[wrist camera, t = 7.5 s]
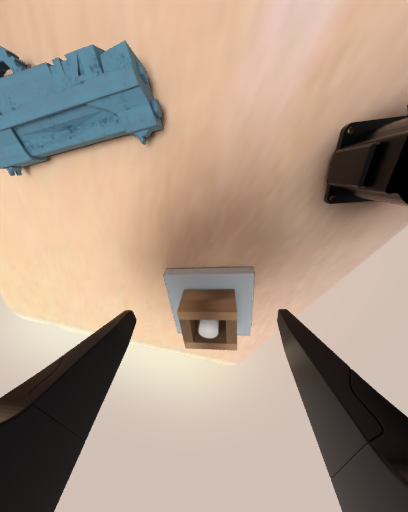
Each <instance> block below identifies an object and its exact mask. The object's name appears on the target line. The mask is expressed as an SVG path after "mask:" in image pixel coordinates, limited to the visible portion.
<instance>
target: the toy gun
mask: <svg viewBox="0 0 408 512" xmlns="http://www.w3.org/2000/svg"><path fill="white" fill-rule="evenodd" d="M65 57H66V58H67V60H66V61H63V60H61V59H60V58H56V59H53V60H52V61H53V64H54V65H51V64H48V63H43V64H40V65H37V66H34V67H31V68H28V69H27V65H26V64H25V63H24V62H23V61H21V60H19V57H18V56H17V55H15V54H14V53H12V52H10V51H8V50H6V49H5V48H3V47H1V46H0V169H7V170H8V172H9V174H10V176H14V175H15V172H16V174H17V175H22V173H21V170H22V167H24V166H28V165H32V164H35V163H39V162H42V161H46V160H47V158H46V156H49V155H53V154H57V153H60V152H64V151H68V150H71V149H75V148H79V147H82V146H86V145H90V144H93V143H97V142H101V141H104V140H108V139H111V138H115V137H119V136H122V135H126V134H130V135H133V136H138V138H139V139H140V141H141V142H142V144H144V145H145V144H146V140H145V138H146V137H149V136H150V134H151V133H152V132H153V131H157V130H160V129H163V126H162V122H161V119H160V118H161V116H162V110H161V106H160V104H159V102H158V100H157V99H154V97H153V94H152V91H151V88H150V85H149V82H148V81H149V79H148V76H147V74H146V71H145V69H144V67H143V65H142V64H141V62H140V61H139V60H138V58H137V57H136V56H135V54H134V53H133V51H132V50H131V48H130V47H129V45H128V44H127V43H126V41H123V42H121V43H120V44H118V45H116V46H114V47H112V48H111V49H109V50H107V51H104V50H102V49H100V48H98V47H96V46H94V45H90V46H87V47H84V48H81V49H78V50H76V51H73V52H71V53H68V54H66V55H65ZM9 69H11V70H12V71H13V73H14V74H11V75H8V76H5V77H4V74H5V73H6V71H7V70H9ZM14 171H15V172H14Z"/></svg>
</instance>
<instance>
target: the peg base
mask: <svg viewBox="0 0 408 512" xmlns="http://www.w3.org/2000/svg"><path fill="white" fill-rule="evenodd" d="M163 276H164V280H165V284H166V288H167V292H168V296H169V300H170V304H171V308H172V312H173V316H174V320H175V324H176V328H177V332H178V333H182V331H181V327H180V323H179V319H178V315H177V310H178V307H179V304H180V300H181V297H182V294H183V291H184V290H208V289H235V299H236V308H237V335H242V336H250V332H251V318H252V304H253V290H254V276H255V273H254V270H253V267H232V268H187V269H166V271H165V273H164V274H163ZM218 326H219V320H200V324H199V334H200V335H201V336H202V337H205V338H214V337H216V336H217V335H218Z"/></svg>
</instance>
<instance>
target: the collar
mask: <svg viewBox="0 0 408 512" xmlns="http://www.w3.org/2000/svg"><path fill="white" fill-rule="evenodd" d="M177 315H178V319H179V323H180V327H181V331H182V335H183V339H184V344H185V348H191V349H216V350H237V308H236V299H235V289H208V290H184V291H183V294H182V297H181V300H180V304H179V307H178V310H177ZM200 320H219V326H218V335H217V336H216V337H214V338H205V337H202V336H201V335H200V334H199V324H200Z"/></svg>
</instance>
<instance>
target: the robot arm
mask: <svg viewBox="0 0 408 512" xmlns="http://www.w3.org/2000/svg"><path fill="white" fill-rule="evenodd" d="M407 106H408V105H407ZM349 128H351V132H350V133H349V134H348V129H349ZM327 182H328V187H327V191H326V195H325V202H326V203H329V204H335V203H349V202H364V201H381V202H386V203H392V204H398V205H404V206H408V116H401V117H393V118H385V119H378V120H370V121H362V122H354V123H350V124H348V125H346V126H345V127H344V128H343V129H342V132H341V135H340V139H339V143H338V147H337V151H336V152H335V154H334V157H333V161H332V165H331V169H330V173H329V177H328V181H327ZM331 196H333V198H332V200H330V197H331ZM277 322H278V327H279V331H280V334H281V338H282V343H283V346H284V350H285V354H286V356H287V359H288V362H289V365H290V368H291V371H292V373H293V376H294V379H295V382H296V384H297V387H298V390H299V393H300V395H301V398H302V401H303V404H304V407H305V409H306V412H307V414H308V417H309V420H310V423H311V426H312V428H313V431H314V434H315V437H316V439H317V442H318V445H319V448H320V451H321V453H322V456H323V459H324V462H325V464H326V467H327V470H328V472H329V476H330V478H331V481H332V484H333V486H334V489H335V492H336V495H337V498H338V500H339V503H340V506H341V509H342V512H408V417H407V416H406V415H404V414H403V413H402V412H401V411H399V410H398V409H397V408H396V407H395V406H393V405H392V404H391V403H390V402H389V401H388V400H386V399H385V398H384V397H383V396H382V395H380V394H379V393H378V392H377V391H376V390H375V389H373V388H372V387H371V386H370V385H369V384H368V383H367V382H366V381H364V380H363V379H362V378H361V377H360V376H359V375H358V374H357V373H356V372H354V371H353V370H352V369H350V367H349V366H348V365H347V364H346V363H345V362H344V361H343V360H341V359H340V358H339V357H338V356H337V355H336V354H335V353H334V352H333V351H332V350H331V349H329V348H328V347H327V346H326V345H325V344H324V343H323V342H322V341H321V340H320V339H319V338H317V337H316V336H315V335H314V334H313V333H312V332H311V331H310V330H309V329H308V328H306V326H304V325H303V324H302V323H301V322H300V321H299V320H298V319H297V318H296V317H295V316H294V315H293V314H291V313H290V312H289V311H288V310H287V309H279V311H278V318H277ZM135 324H136V317H135V315H134V313H133V311H132V310H126V311H124V312H123V313H121V314H120V315H118V316H117V317H116V318H114V319H113V320H111V321H110V322H109V323H107V324H106V325H105V326H103V327H102V328H100V329H99V330H98V331H96V332H95V333H93V334H92V335H91V336H89V337H88V338H87V339H85V340H84V341H82V342H81V343H80V344H78V345H77V346H76V347H74V348H73V349H71V350H70V351H68V352H67V353H66V354H65V355H63V356H62V357H60V358H59V359H57V360H56V361H55V362H53V363H52V364H51V365H49V366H47V367H46V368H45V369H43V370H42V371H40V372H39V373H37V374H36V375H35V376H33V377H31V378H30V379H28V380H27V381H25V382H24V383H23V384H21V385H19V386H18V387H16V388H15V389H13V390H12V391H10V392H8V393H7V394H5V395H4V396H3V397H1V398H0V512H54V510H55V508H56V506H57V504H58V502H59V499H60V497H61V495H62V493H63V490H64V488H65V486H66V484H67V481H68V479H69V477H70V475H71V472H72V470H73V468H74V466H75V464H76V461H77V459H78V457H79V455H80V452H81V450H82V448H83V446H84V444H85V440H86V439H87V437H88V434H89V432H90V430H91V427H92V425H93V423H94V421H95V419H96V417H97V414H98V412H99V410H100V407H101V405H102V403H103V401H104V399H105V396H106V394H107V392H108V390H109V388H110V385H111V383H112V381H113V379H114V376H115V374H116V372H117V370H118V367H119V365H120V363H121V361H122V359H123V356H124V354H125V352H126V349H127V347H128V345H129V342H130V339H131V336H132V333H133V330H134V327H135Z"/></svg>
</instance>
